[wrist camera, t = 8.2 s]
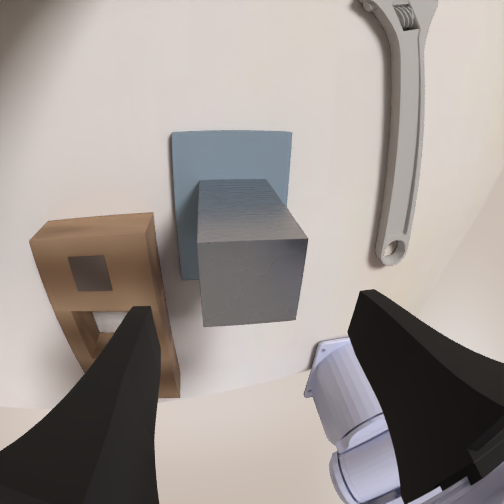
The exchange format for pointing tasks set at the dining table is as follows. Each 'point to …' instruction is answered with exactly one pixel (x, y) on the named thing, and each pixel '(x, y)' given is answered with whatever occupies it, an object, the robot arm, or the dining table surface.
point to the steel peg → (247, 254)
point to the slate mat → (221, 174)
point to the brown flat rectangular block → (105, 282)
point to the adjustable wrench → (403, 117)
